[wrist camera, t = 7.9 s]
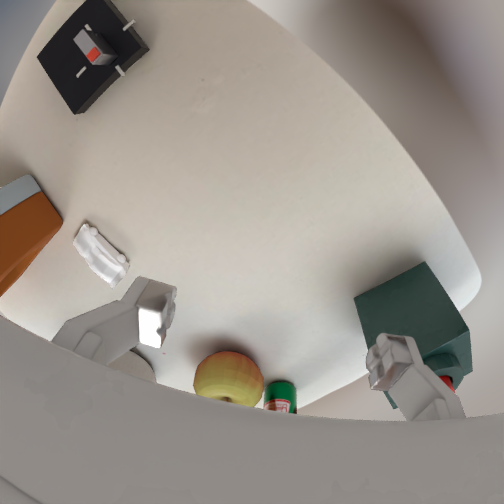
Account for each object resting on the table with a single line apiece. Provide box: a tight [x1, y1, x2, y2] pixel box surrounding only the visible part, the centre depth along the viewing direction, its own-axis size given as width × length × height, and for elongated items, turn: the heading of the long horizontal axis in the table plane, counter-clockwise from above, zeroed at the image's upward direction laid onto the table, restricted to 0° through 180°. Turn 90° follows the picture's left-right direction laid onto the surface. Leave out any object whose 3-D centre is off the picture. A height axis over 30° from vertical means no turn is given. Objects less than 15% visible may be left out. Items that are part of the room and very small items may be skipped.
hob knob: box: [73, 29, 118, 66], centre depth 20 cm, size 4×1×3 cm, turn 35°
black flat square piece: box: [37, 0, 150, 115], centre depth 22 cm, size 11×11×2 cm
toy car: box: [72, 223, 130, 289], centre depth 34 cm, size 5×8×2 cm, turn 43°
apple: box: [193, 351, 264, 407], centre depth 39 cm, size 10×10×8 cm
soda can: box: [263, 381, 297, 414], centre depth 40 cm, size 5×5×12 cm
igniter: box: [354, 262, 473, 409], centre depth 29 cm, size 10×8×14 cm
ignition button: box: [439, 375, 455, 393], centre depth 22 cm, size 4×4×2 cm
